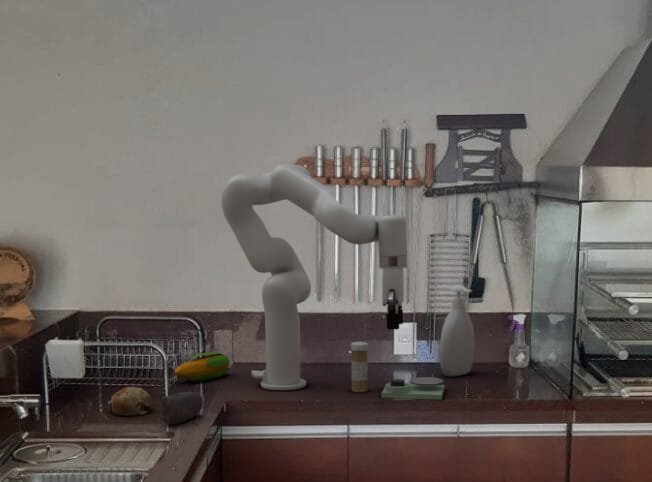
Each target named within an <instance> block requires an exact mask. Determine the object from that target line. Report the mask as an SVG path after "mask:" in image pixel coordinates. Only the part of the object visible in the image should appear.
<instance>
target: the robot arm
mask: <svg viewBox="0 0 652 482" xmlns="http://www.w3.org/2000/svg"><path fill="white" fill-rule="evenodd" d="M285 200H287V201H289V202H290V203H292V204H293V205H295V206H297V207H298V208H300V209H301V210H303V211H305V212H306V213H308V214H310V215H311V216H313V218H314V219H315V220H316V221H318V222H319V223H320V224H321V225H322V226H323V227H324V228H326V229H327V230H328V231H329V232H331V233H333V234H335V235H336V236H337V237H338V238H341V239H343V240H344V241H346V242H348V243H349V244H352V245H356V246H357V245H364V244H371V243H378V268H379V269H381V270H382V274H381V275H382V278H381V282H382V283H381V289H382V291H381V299H382V300H381V301H382V302H381V304H382V306H383V307H386V329H387V330H399V329H400V325H403V324H404V309H403V303H404V299H405V279H404V278H405V277H404V273H405V272H404V269H407V268H408V266H409V265H408V261H409V260H408V228H407V227H408V225H407V218H406V216H404V215H402V214H387V215H386V214H385V215H374V214H357V213H356V212H354V211H352V210H351V209H349V208H348V207H346V206H344V205H343V204H341V203H340V202H339V201H338V200H337V199H336V198H335V197H334V195H333V192H332V190H331V189H330V188H329V186H326V184H325V185H324V184H323V183H322V182H320V181H318V180H317V179H315V178H313V177H312V175H311V173H310V172H309V170H308V169H307V168H306V167H305V166H302V165H300V164H292V163H282V164H279V165H277V166H275V167H274V168H273V169H272V170H271V171H270V172H266V173H261V174H254V173H240V174H236V175H234V176H233V177H231V178H229V180H228V181H227V182H226V183H225V185H224V187H223V190H222V193H221V197H220V205H221V209H222V214H223V216H224V219H225V220H226V222H227V224H228V226H229V227H230V228H231V230H232V232H233V234H234V236H235V238H236V240H237V242H238V244H239V246H240V248H241V250H242V251H243V253H244V256H245V257H246V259H247V261H248V263H249V266H251V268H252V269H253V270H254V271H256V272H258V273H262V274H267V273H270V275H271V276H269V277H268V278H267V279H266V280H265V281H264V283H263V285H262V288H261V289H262V290H261V299H262V305H263V311H264V320H265V323H264V328H265V329H264V330H265V369H262V370H251V375H250V376H251V378H253V379H261V382H260V387H261V388H262V389H266V390H270V391H294V390H299V389H304V388H305V387H306V386H307V381H306V380H305V379H303V378H301V321H300V314H299V313H300V312H299V310H298V309H299V308H298V305H299V304H302V303H303V302H305V301H306V300H307V299H308V298H309V297H310V295H311V292H312V284H311V280H310V278H309V276H308V274H307V272H306V270H305V268H304V266H303V264H302V262H301V260H300V259H299V256H298V254H297V253H296V252H295V250H294V248H293V247H292V245H291V244H290V242H288V241H287V240H286V239H284V238H281V237H279V236H272V235H271V234H270V233H269V231H268V229H267V227H266V225H265V223H264V221H263V219H262V218H261V216H260V215H259V214H258V213H257V212H256V211H255V209H254V208H253V206H263V205H269V204H273V203H277V202H281V201H285Z"/></svg>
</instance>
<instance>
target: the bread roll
mask: <svg viewBox="0 0 652 482" xmlns="http://www.w3.org/2000/svg"><path fill="white" fill-rule="evenodd" d="M110 398H111V399H110V400H109V401H108V402H107V406H109V411H110V412H111V413H112V414H113V415H115V416H118V417H121V416H125V417H135V416H143V415H145V414H147V413H150V412H151V411H152V410H153V408H154V401H153V398H152V396H151V394H149V393H148V392H147V391H146V390H145V389H143V388H142V387H137V386H126V387H123V388H121V389H119V390H117V392H115V393H114V394H112V395H111V397H110Z"/></svg>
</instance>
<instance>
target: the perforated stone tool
mask: <svg viewBox="0 0 652 482" xmlns="http://www.w3.org/2000/svg"><path fill="white" fill-rule="evenodd" d="M203 402H204V401H203V397H202V396H201V394H199V393H198V392H194V391H183V392H178V393H174V394H171V395H166V396H163V397H161V398H160V403H161V407H160V412H159V413H160V415H161V416H162V422H164V424H167V425H171V426H172V425H177V424H182V423H184V422H186V421H189V420H191V419H193V418H195V417H197V415H198V414H199V413H200V412H201V411H202V408H203V404H204V403H203Z"/></svg>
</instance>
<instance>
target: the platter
mask: <svg viewBox="0 0 652 482" xmlns="http://www.w3.org/2000/svg"><path fill="white" fill-rule="evenodd" d="M410 384H415V385H421V386H435V385H444V380H443V379H442V378H438V377H431V376H422V377H421V376H420V377H414V378H413V377H412V378H411V379H410Z"/></svg>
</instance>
